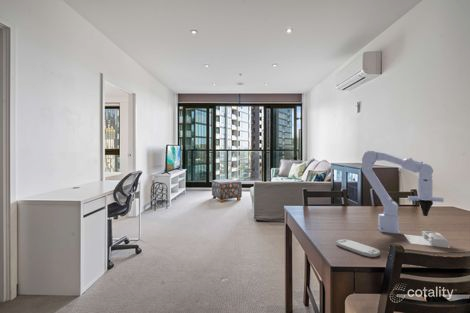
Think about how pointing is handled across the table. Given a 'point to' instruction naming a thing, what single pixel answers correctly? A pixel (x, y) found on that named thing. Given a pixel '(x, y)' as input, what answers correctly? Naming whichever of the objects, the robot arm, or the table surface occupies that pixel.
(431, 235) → the cover
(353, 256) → the table surface
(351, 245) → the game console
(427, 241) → the white storage tray
